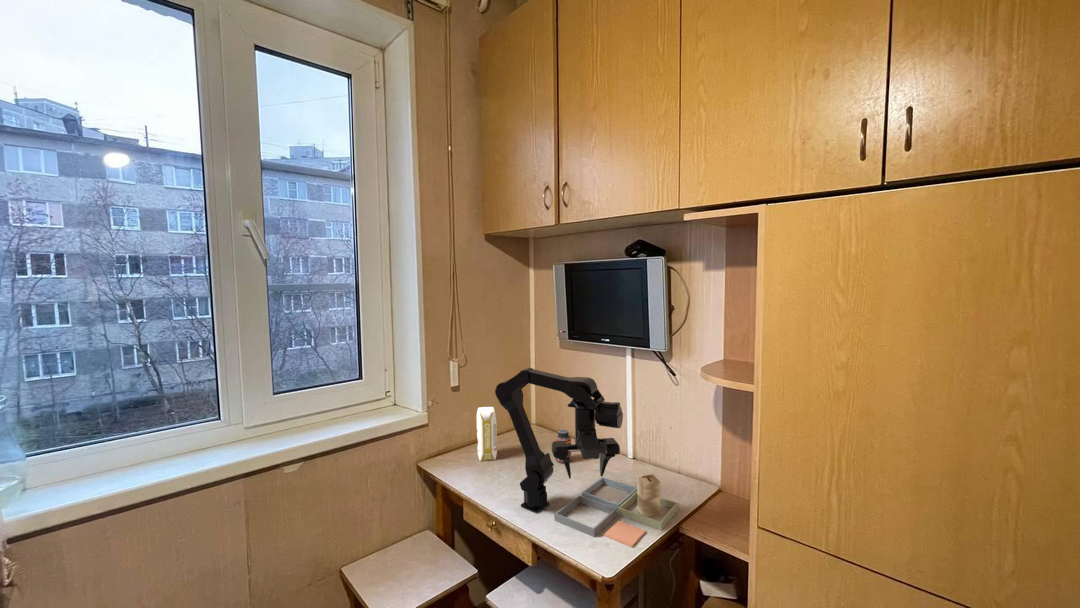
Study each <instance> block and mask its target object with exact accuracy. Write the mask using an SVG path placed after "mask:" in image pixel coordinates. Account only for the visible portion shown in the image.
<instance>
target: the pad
mask: <svg viewBox="0 0 1080 608" xmlns="http://www.w3.org/2000/svg"><path fill="white" fill-rule="evenodd" d="M644 533H645V534H646V530H645V529H643V528H640V527H637V526H635V525H631V524H628V523H626V522H623V521H621V520H618V521H617V522H615V523H614V525H612V526H611V527H610V528H609V529H608V530H607V531H606V532H605V533H604V537H606V538H608V539H611V540H613V541H615V542H618V543H620V544H624V545H626V546H628V547H631V548H633V547H635V545H636V544H637V543H638V541H639V540H640V539H642V537H643V536H644V535H645V534H644ZM643 534H644V535H643ZM642 535H643V536H642ZM641 536H642V537H641ZM635 543H636V544H635ZM634 544H635V545H634Z"/></svg>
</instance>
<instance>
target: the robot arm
mask: <svg viewBox="0 0 1080 608" xmlns="http://www.w3.org/2000/svg"><path fill="white" fill-rule="evenodd" d="M529 384H530V385H534V386H538V387H540V388H545V389H549V390H550V389H551V390H553V391H558V392H561V393H563V394H565V395H566V396H567V397H569V398H570V399H572V400H571V401H570V402H569V403H568V404H567V407H568V408H574V442H575V443H573V444H572V443H571V445H567V444H566V442H565V441H556V440H554V441H553V442H551V453H552V455H553V457H554V459H556V458H558V459H559V460H563V462H564V463H563V464H564V468H565V470H566V473H567V476H568V479H569V480H570V479H571V478H572V473H571V471H572V470H571V466H570V465H571V464H570V462H569V456H568V452H571V453H574V452H580V455H581V458H582V460H585V461H588V460H591V459H593V460H598V459H599V476H600V478H601V477H604V474H605V471H606V468H607V465H608V463H609V461H610V459H612V458H615V457H616V455H620V454H621V447H620V444H619V442H618V441H617V440H616V439H615V438H614V437H607V438H606V437H603V438H598V436H597V429H596V424H597V425H598V426H599V427H604V428H605V427H607V428H613V429H621V428H622V425H623V418H624V412H623V410H622V407H621V402H615V401H613V402H612V401H611V402H610V401H605V400H606V399H605V397H604V396H603V394H602V393H601V392H600V390H599V389H598V385H597V383H596V381H595V379H593V378H592V377H588V376H587V377H586V376H574V377H571V376H570V377H568V376H563V375H559V374H556V373H550V372H547V371H542V370H538V369H535V368H532V367H527V368H525V369H522V370H520V371H519V372H518V373H517V374H516V375H514V376H513V377H511V378H509V379H507V380H504V381H502V382H499V383H498V384H497V385H496V386H495V389H494V394H495V397H496V398H497V400H498V403H499V404H500V405H501V406H502V407H503V408H504V409H505V410H506V412H508V415H509V417H510V419H511V423H512V425H513V427H514V430H515V433H516V436H517V438H518V440H519V443H520V446H521V448H522V451H523V454H524V457H525V461H524V462H525V463H524V464H525V465H524V469H525V474H526V477H524V479H523V480H521V481H520V482H519V486H520V489H521V491H523V502H522V503H521V504H520V507H521V508H524V509H526V510H527V511H528V510H529V511H531V512H533V513H536V514H537V513H539V512H541V511H542V510H543V509H545V508H546V507H548V506H549V505H550V501H548V492H547V486H546V485H545V483H547V482H548V481H549V479H550V478H551V477H552V476H553V473H554V465H555V464H554V463H553V461H552V458H551V455H550V453H549V452H547V453H545V452H543V451H542V450H541V448H540V446H539V444H538V443H539V442H538V441H537V438H536V435H535V433H534V431H533V428H532V426H531V423H530V420H529V418H528V415H527V413H526V410H525V407H524V392H523V389H524V388H525V387H526V386H527V385H529Z"/></svg>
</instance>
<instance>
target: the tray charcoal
mask: <svg viewBox="0 0 1080 608" xmlns="http://www.w3.org/2000/svg"><path fill="white" fill-rule="evenodd" d="M579 504H583V505H586V506H588V507H591V508H592V509H593V508H594V509H596V510H599V511H602V512H605V513H608V514H607V515H606V516H605V517H604V518H603V519H602V520H601V521H600V522H598V523H597V524H596V525H595V526H594V527H592V526H589V525H587V524H585V523H581V522H579V521H576V520H574V519H571V518H569V517H567V516H564V515H566V514H567V513H568V512H570V511H571V510H572V509H574V508H575V507H577V506H578V505H579ZM553 515H554V517H553V518H554V521H555V522H557V523H559V524H561V525H564V526H567V527H568V528H572V529H574V530H576V531H578V532H581V533H584V534H586V535H588V536H590V537H593V538H594V537H596V536H597V535H598V534H599V533H600V532H601V531H602V530H603V529H604V528H605V527H607V526H608V525H609V524H610V523H611V522H612V521H613V520H614V519H615V518H616V517H617V516H618V511H617V508H614V507H611V506H609V505H606V504H603V503H600V502H597V501H594V500H592V499H589V498H586V497H583V496H582V495H581V494H579V495H577V496H576V497H575V498H573V499H572V500H571V501H570V502H568V503H567V504H565V505H564V506H563V507H561V508H560V509H558V510H557V511H556V512H555V513H554V514H553Z"/></svg>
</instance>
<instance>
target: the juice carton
mask: <svg viewBox="0 0 1080 608" xmlns="http://www.w3.org/2000/svg"><path fill="white" fill-rule="evenodd" d="M496 414H497V413H496V410H495V407H494V406H482V407H478V408H477V411H476V443H477V444H476V446H477V447H476V448H477V450H476V451H477V456H478V459H479V462H484V461H495V460H496V458H497V456H498V438H497V437H498V435H497V430H498V429H497V427H498V426H497V415H496Z"/></svg>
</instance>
